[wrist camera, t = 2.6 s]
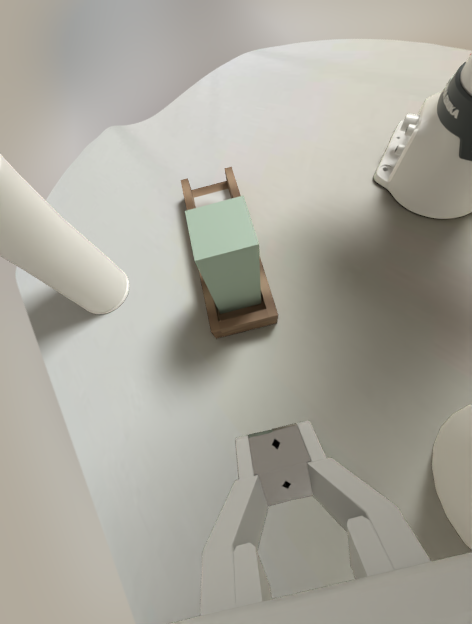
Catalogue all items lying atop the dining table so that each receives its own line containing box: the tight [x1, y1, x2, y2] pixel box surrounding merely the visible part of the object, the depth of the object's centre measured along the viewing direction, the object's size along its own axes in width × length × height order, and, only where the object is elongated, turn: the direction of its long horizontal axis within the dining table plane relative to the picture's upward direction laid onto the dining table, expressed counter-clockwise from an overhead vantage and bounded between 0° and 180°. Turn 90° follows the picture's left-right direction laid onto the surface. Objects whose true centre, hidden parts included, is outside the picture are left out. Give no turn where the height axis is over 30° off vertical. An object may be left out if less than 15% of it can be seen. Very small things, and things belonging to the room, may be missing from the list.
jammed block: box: [185, 196, 261, 314], centre depth 30 cm, size 6×6×14 cm
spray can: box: [0, 154, 129, 314], centre depth 29 cm, size 12×11×25 cm
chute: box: [181, 167, 278, 339], centre depth 39 cm, size 28×9×4 cm, turn 13°
